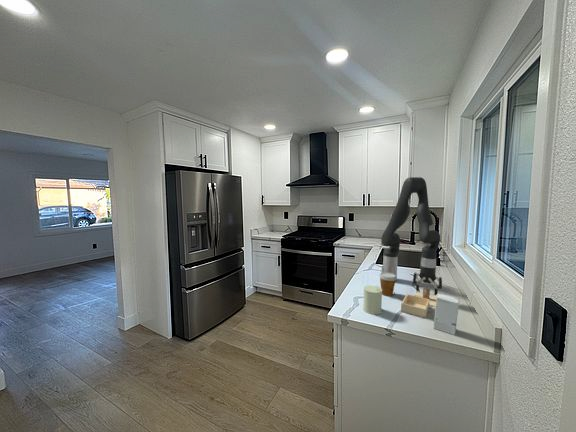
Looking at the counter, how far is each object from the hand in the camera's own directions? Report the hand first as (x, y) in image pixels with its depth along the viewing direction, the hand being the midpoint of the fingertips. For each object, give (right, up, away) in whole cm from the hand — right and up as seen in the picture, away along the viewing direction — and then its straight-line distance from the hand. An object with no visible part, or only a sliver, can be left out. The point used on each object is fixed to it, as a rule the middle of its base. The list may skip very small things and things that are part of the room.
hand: (426, 292), depth 136 cm
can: (-35, -6, -12) cm, 38 cm away
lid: (0, -5, +1) cm, 5 cm away
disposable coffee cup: (-20, -3, +8) cm, 21 cm away
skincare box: (-9, -7, -29) cm, 31 cm away
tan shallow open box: (-13, -5, -11) cm, 18 cm away
